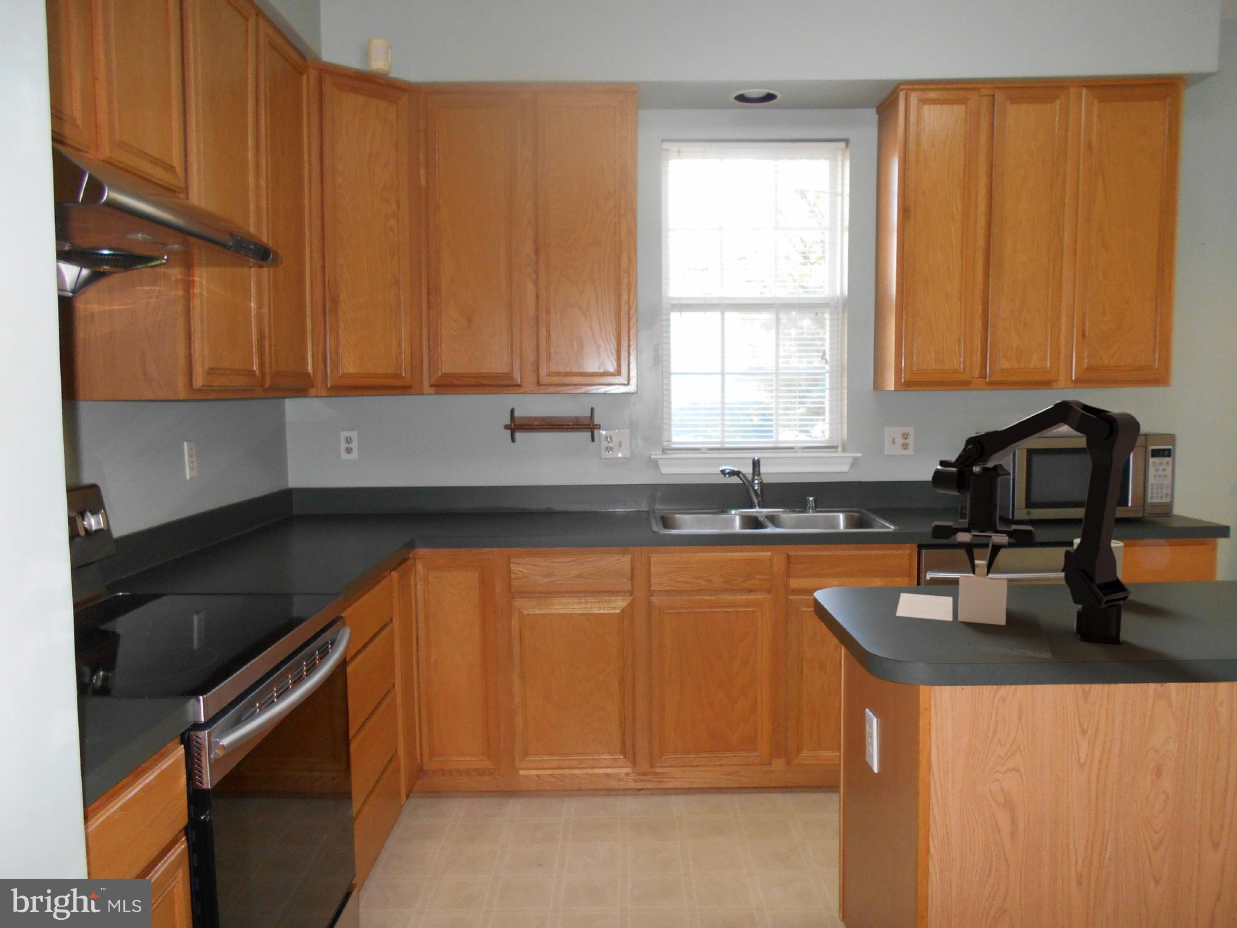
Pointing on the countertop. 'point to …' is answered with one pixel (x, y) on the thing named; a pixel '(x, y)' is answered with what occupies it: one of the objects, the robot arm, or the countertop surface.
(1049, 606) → the countertop surface
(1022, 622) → the countertop surface
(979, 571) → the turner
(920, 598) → the board
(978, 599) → the tile
